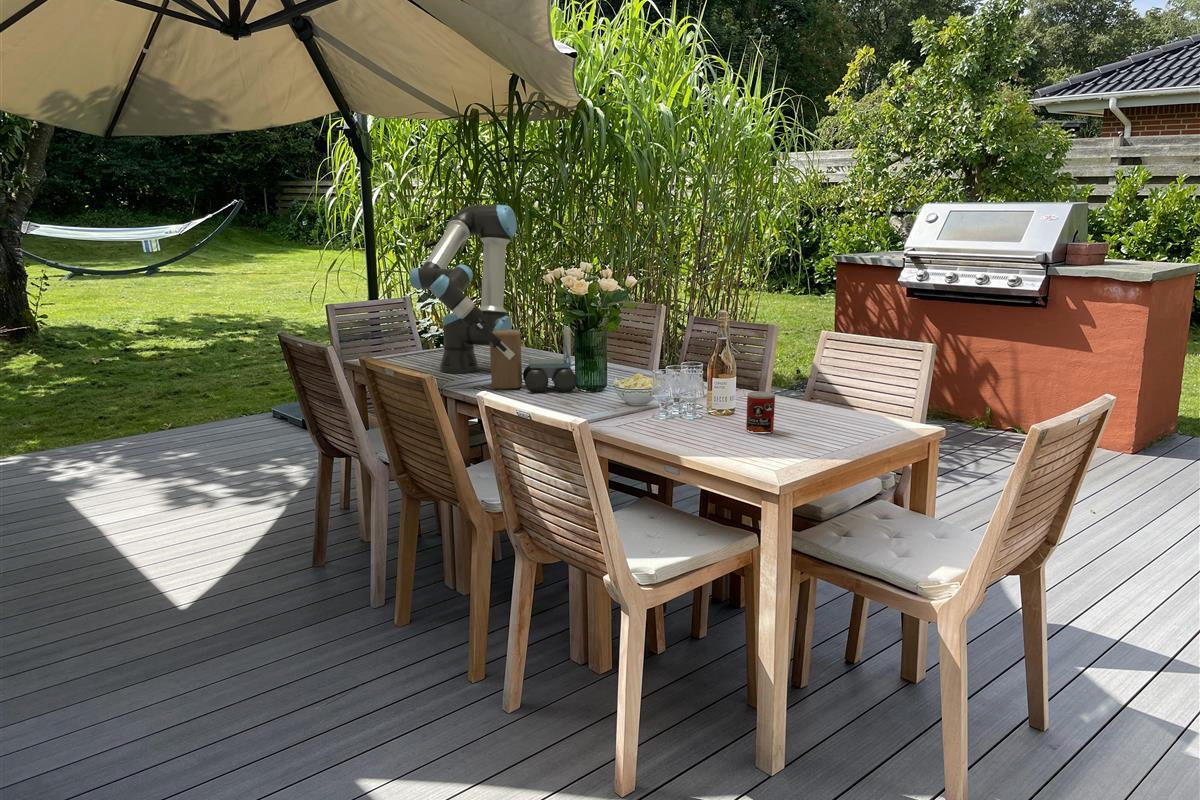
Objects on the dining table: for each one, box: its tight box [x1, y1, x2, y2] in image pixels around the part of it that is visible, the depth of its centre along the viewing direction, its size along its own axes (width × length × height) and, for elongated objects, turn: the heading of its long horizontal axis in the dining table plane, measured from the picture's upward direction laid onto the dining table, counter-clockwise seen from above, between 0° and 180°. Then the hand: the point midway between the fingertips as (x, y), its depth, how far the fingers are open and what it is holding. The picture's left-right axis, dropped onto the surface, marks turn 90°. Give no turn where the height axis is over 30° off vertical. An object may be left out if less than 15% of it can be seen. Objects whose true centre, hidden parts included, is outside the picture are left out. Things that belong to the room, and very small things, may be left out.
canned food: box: [745, 390, 776, 432], centre depth 261 cm, size 8×8×11 cm
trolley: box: [522, 324, 578, 394], centre depth 322 cm, size 14×18×25 cm
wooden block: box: [489, 329, 523, 390], centre depth 326 cm, size 10×10×20 cm
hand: (511, 354), depth 327 cm, fingers open, 13 cm apart
